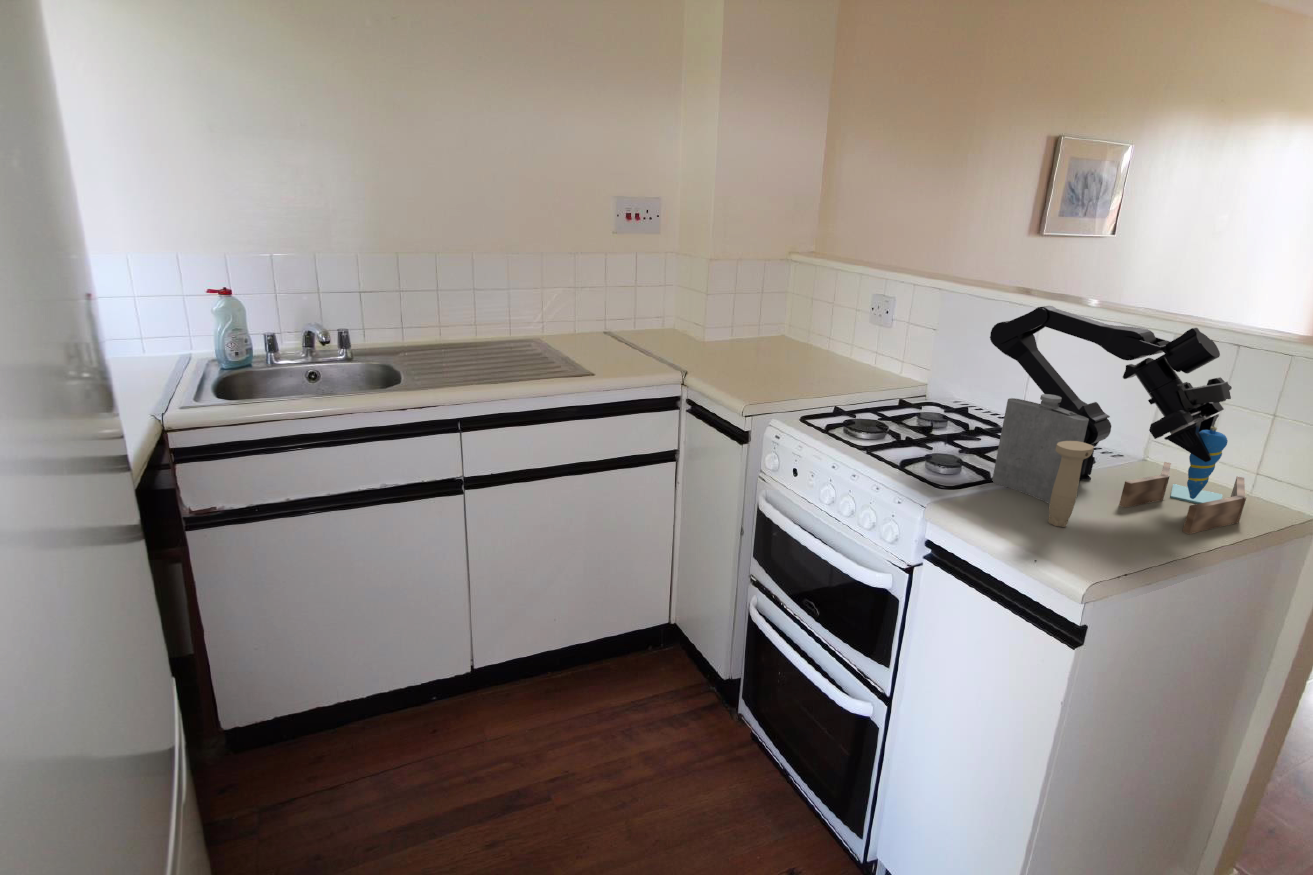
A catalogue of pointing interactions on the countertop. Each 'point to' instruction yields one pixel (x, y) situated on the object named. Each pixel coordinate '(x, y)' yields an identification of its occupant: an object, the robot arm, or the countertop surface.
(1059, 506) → the handle
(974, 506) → the countertop surface
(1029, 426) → the hip flask
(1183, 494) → the pad
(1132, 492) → the channel
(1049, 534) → the countertop surface
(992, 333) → the robot arm
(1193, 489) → the ornament
